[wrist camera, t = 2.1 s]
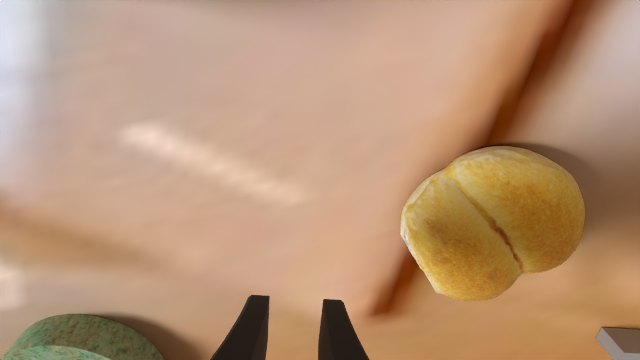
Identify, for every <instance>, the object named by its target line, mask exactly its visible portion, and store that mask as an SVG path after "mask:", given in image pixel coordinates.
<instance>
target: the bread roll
mask: <svg viewBox="0 0 640 360" xmlns="http://www.w3.org/2000/svg"><path fill="white" fill-rule="evenodd" d="M584 220H585V207H584V201H583V197H582V194H581V191H580V189H579V187H578V185H577V183H576V181H575V179H574V178H573V176H572V175H571V174H570V173H569V172H567V171H566V170H565V169H564V168H563V167H561V166H560V165H558V164H557V163H555V162H553V161H551V160H549V159H548V158H546V157H544V156H542V155H540V154H537V153H534V152H532V151H531V150H528V149H523V148H517V147H511V146H493V147H486V148H482V149H478V150H475V151H472V152H469V153H466V154H464V155H462V156H460V157H458V158H457V159H455V160H454V161H453V162H452V163H450V164H449V165H448V166H447V167H446V168H445V169H443V170H441V171H439V172H437V173H435V174H433V175H431V176H429V177H428V178H427V179H426V180H425V181H423V182H422V183H421V184H420V185H419V186H418V187H417V188H416V190H415V191H414V192H413V193H412V194H411V196H410V197H409V199H408V201H407V202H406V204H405V206H404V208H403V210H402V214H401V229H400V235H401V236H402V238H403V240H404V241H405V243H406V245H407V246H408V248H409V250H410V252H411V254H412V255H413V257H414V258H415V259H416V261H417V263H418V264H419V266H420V268H421V269H422V270H423V271H424V272H425V274H426V276H427V278H428V280H429V281H430V283H431V284H432V286H433V288H434V290H435V291H436V293H441V294H444V295H446V296H449V297H451V298H454V299H457V300H464V301H481V300H488V299H492V298H495V297H497V296H499V295H500V294H501V293H503V292H504V291H506V290H507V289H508V288H509V287H510V286H511V285H512V284H513V283H514V282H515V280H516V279H517V278H518V277H519V276H520V274H521V273H536V272H537V273H539V272H544V271H547V270H550V269H552V268H555V267H557V266H559V265H560V264H562V263H563V262H565V261H566V260H567V259H568V258H569V257H570V255H571V254H572V253H573V252H574V251H575V249H576V248H577V246H578V244H579V242H580V239H581V236H582V232H583V227H584Z"/></svg>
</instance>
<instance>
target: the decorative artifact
mask: <svg viewBox="0 0 640 360" xmlns="http://www.w3.org/2000/svg"><path fill="white" fill-rule="evenodd" d="M0 360H164V359H163V357H162V355H161V354H160V352H159V351H158V350H157V348H156V347H155V346H154V345H153V344H152V343H151V342H150V341H149V340H147V339H146V338H145V337H144V336H142V335H141V334H140V333H138V332H136V331H135V330H133V329H131V328H129V327H128V326H126V325H123V324H121V323H119V322H116V321H113V320H110V319H107V318H103V317H98V316H93V315H85V314H65V315H58V316H53V317H49V318H46V319H43V320H41V321H39V322H37V323H35V324H33V325H32V326H30V327H29V328H28V329H26V331H25V332H24V333H23V334H22V335H21V336H20V337H19V338H18V339H17V341H16V342H15V343H14V344H13V345H12V346H11V347H10V348H9V350H8V351H7V352H6V353H5V354H4V355H3V356H2V358H1V359H0Z"/></svg>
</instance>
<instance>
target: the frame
mask: <svg viewBox="0 0 640 360" xmlns="http://www.w3.org/2000/svg"><path fill="white" fill-rule="evenodd" d="M596 340H597V341H598V342H599V343H600V344H601V345H602V347H603V348H604V349H605V350H606V351H607V353H608V354H609V355H610V356H611V357H612V359H613V360H640V329H623V328H605V327H602V328H601V330H600V331H599V333H598V335H597V337H596Z"/></svg>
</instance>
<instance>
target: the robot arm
mask: <svg viewBox="0 0 640 360" xmlns="http://www.w3.org/2000/svg"><path fill="white" fill-rule="evenodd" d="M268 319H269V296H261V295H251V296H250V297H248V299H247V302H246V304H245V306H244V308H243V310H242V312H241V314H240V315H239V317H238V319H237V321H236V322H235V324H234V326H233V327H232V329H231V330H230V332H229V333H228V335H227V336H226V338H225V340H224V341H223V343H222V344H221V345H220V347H219V348H218V350H217V351H216V352H215V354H214V355H213V356H212V358H211V359H210V360H265V358H266V350H267V341H268ZM318 360H369V358H368V356H367V355H366V353H365V351H364V349H363V347H362V345H361V343H360V341H359V339H358V337H357V335H356V333H355V331H354V328H353V326H352V324H351V321H350V319H349V316H348V314H347V311H346V308H345V305H344V303H343V302H342V301H341V300H330V299H324V300H323V308H322V317H321V325H320V334H319V343H318Z"/></svg>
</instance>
